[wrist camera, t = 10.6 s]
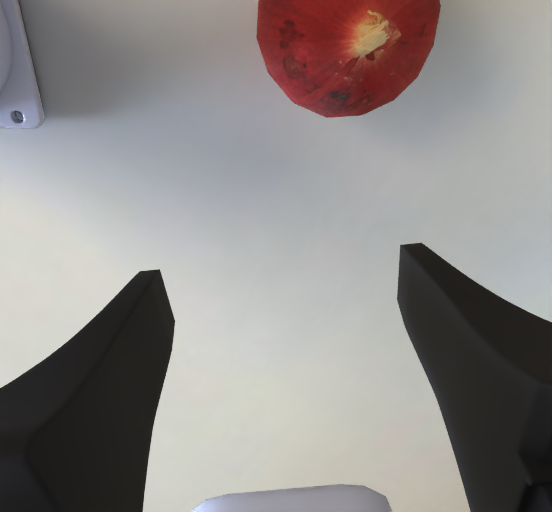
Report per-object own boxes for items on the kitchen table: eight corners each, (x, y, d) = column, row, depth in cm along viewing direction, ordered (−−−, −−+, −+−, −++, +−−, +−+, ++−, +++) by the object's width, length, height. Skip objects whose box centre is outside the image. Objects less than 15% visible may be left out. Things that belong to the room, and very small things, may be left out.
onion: (358, 109, 20) (408, 184, 14) (236, 56, 19) (225, 111, 12) (430, -34, 17) (539, -28, 11) (293, -108, 16) (318, -155, 9)
